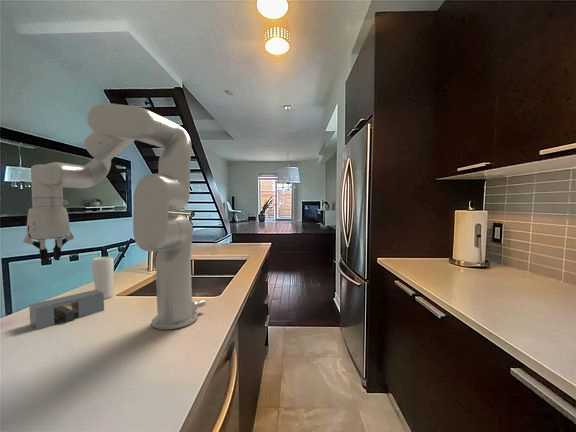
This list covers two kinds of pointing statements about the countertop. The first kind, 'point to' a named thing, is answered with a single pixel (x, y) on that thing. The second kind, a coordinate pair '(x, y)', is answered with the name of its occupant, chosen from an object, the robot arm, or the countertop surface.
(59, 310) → the plug
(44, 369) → the countertop surface
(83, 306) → the housing
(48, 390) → the countertop surface
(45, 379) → the countertop surface
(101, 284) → the drinking glass
